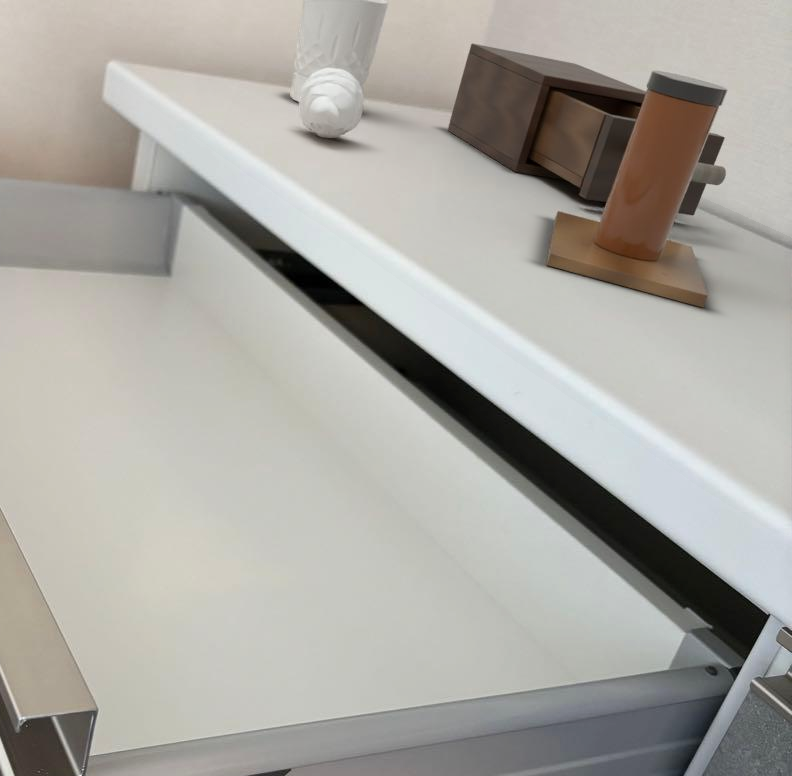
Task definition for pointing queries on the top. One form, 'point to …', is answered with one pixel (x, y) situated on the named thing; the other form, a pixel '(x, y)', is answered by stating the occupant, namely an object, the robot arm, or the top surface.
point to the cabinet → (519, 101)
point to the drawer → (603, 145)
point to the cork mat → (625, 262)
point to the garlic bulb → (331, 102)
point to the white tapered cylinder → (337, 38)
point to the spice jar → (658, 164)
